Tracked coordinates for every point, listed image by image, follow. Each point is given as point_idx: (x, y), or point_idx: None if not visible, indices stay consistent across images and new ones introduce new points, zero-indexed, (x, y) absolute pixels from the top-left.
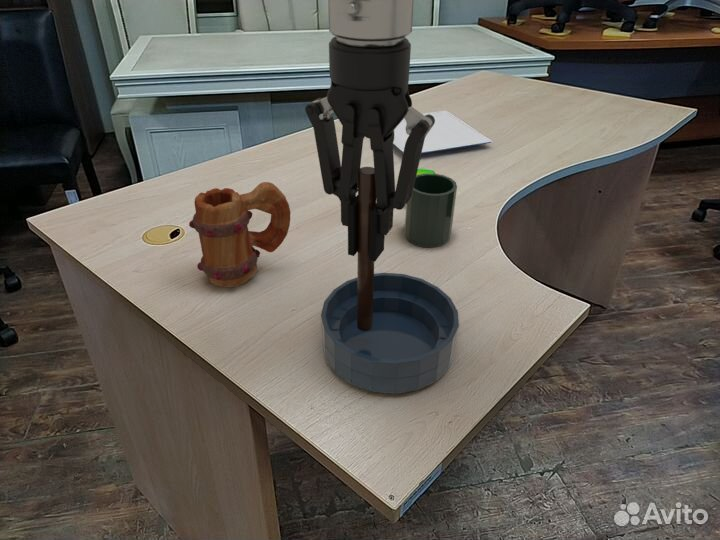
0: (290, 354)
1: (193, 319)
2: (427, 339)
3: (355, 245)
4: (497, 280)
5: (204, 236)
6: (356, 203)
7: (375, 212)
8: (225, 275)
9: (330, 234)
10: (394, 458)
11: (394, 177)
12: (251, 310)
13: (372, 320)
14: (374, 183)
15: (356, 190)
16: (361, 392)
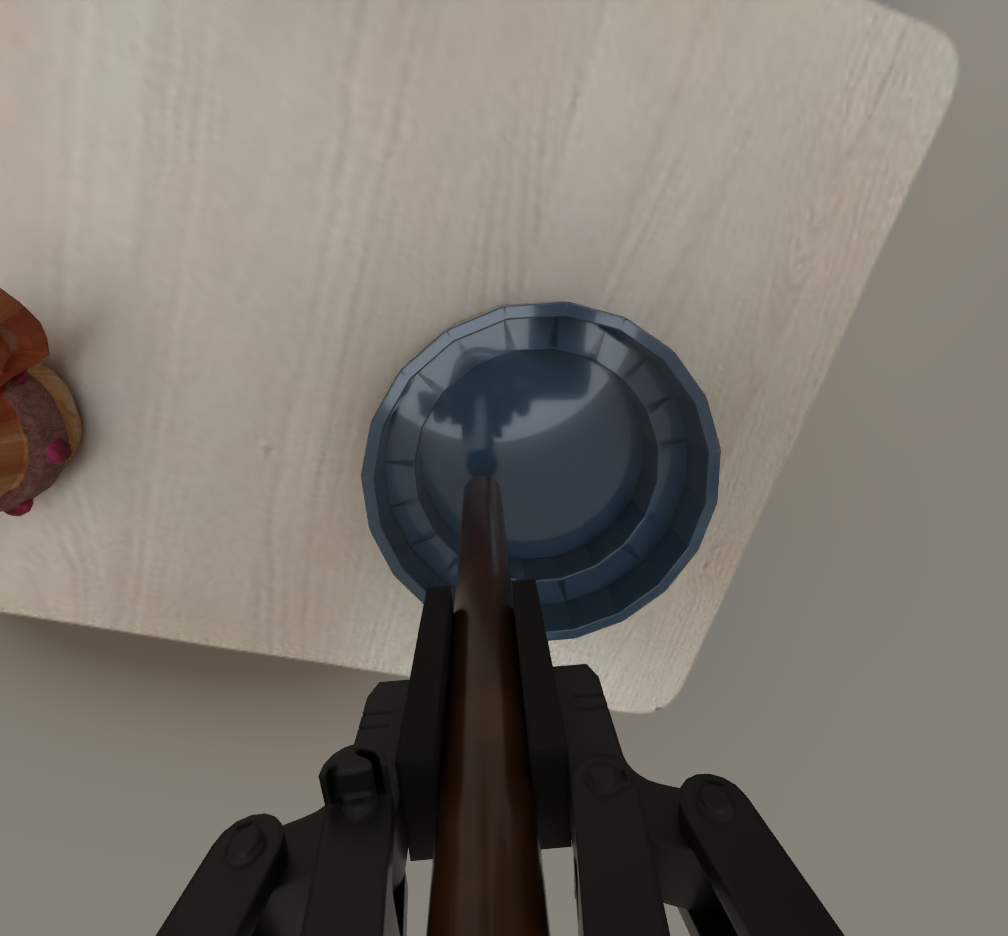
0: (359, 567)
1: (100, 583)
2: (610, 405)
3: None
4: (723, 14)
5: None
6: None
7: (565, 842)
8: (34, 495)
9: (77, 20)
10: (641, 661)
11: (667, 927)
12: (183, 499)
13: (501, 496)
14: None
15: (393, 817)
16: None
